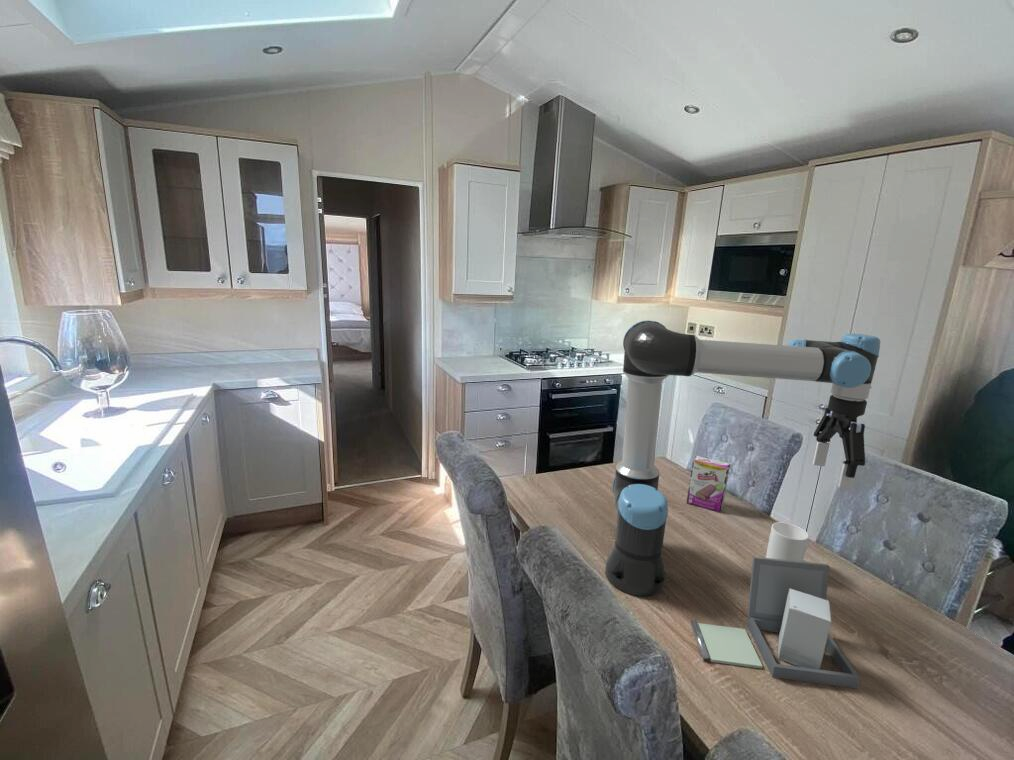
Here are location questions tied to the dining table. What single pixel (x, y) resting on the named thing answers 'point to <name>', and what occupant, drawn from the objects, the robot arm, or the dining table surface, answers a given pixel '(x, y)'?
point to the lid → (783, 584)
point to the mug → (787, 542)
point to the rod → (699, 640)
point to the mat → (729, 646)
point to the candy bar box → (708, 483)
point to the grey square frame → (800, 673)
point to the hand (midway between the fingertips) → (830, 476)
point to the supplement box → (804, 630)
